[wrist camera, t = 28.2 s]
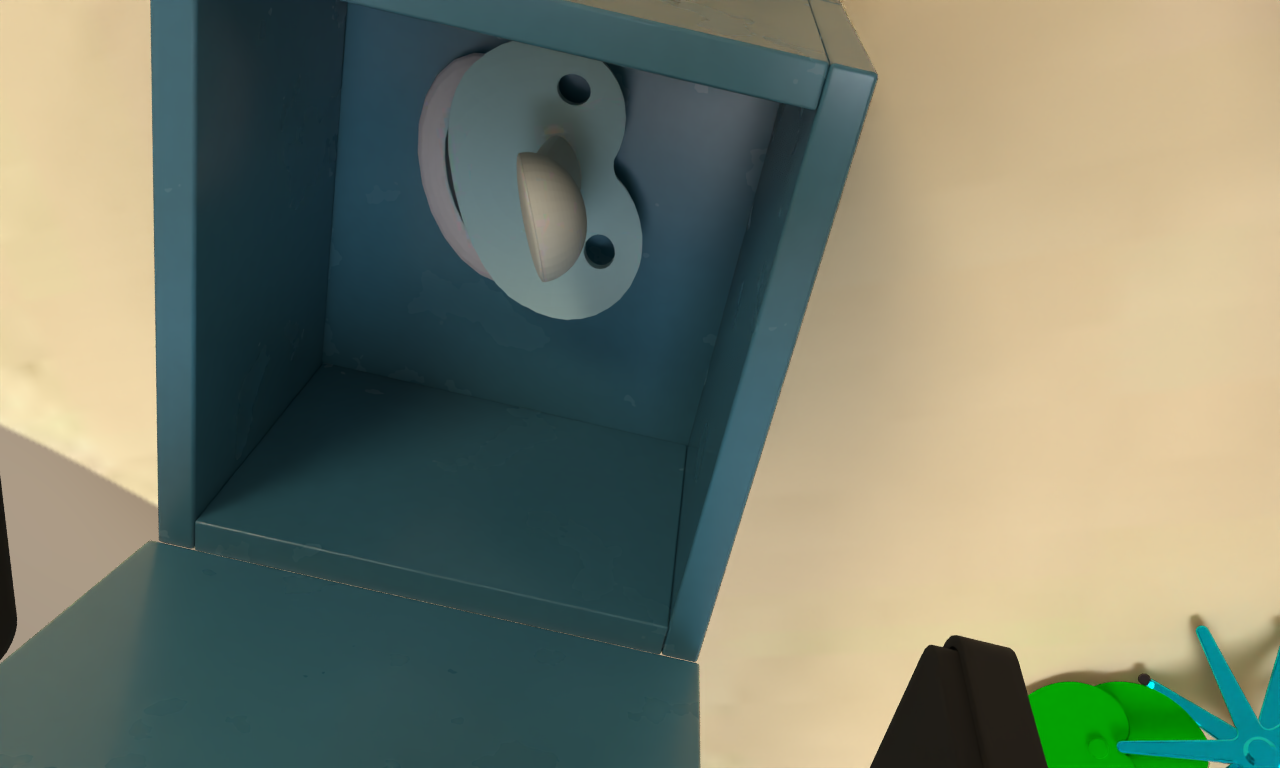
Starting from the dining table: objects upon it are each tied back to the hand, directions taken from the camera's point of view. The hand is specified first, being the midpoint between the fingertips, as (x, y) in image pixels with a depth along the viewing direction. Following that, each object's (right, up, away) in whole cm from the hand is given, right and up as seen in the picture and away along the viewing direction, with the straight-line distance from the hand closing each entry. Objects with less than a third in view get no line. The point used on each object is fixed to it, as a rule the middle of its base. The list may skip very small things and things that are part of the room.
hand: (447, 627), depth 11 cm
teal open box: (-1, +8, +20) cm, 21 cm away
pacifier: (-1, +8, +19) cm, 20 cm away
